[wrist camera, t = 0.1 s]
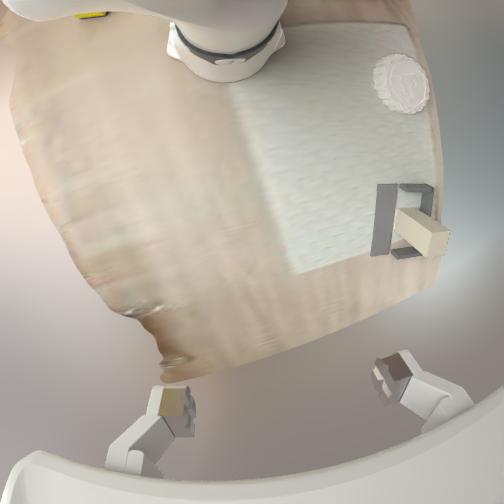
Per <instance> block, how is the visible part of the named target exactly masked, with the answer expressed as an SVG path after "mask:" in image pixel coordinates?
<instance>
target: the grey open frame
mask: <svg viewBox="0 0 504 504" xmlns="http://www.w3.org/2000/svg"><path fill="white" fill-rule="evenodd" d="M399 188H401V189H403V190H405V191H406V192H422V199H421V207H420V211H422V212H423V213H425V214H426V215H428V216H429V217H430V216H431V210H432V203H433V195H434V188H433V187H431V186H429V185H427V184H400V186H399ZM396 194H397V184H378V186H377V200H376V212H375V222H374V231H373V240H372V247H371V255H370V256H377V255H384V254H389V248H390V242H391V236H392V229H393V221H394V213H395V204H396ZM391 253H392V254H393V255H394V256H395V257H396V259H397V260H398V259H404V258H410V257H416V256H422V254H421V253H420V252H419V251H418V250H417V249H415V248H414V247H407V248H399V249H392V250H391Z"/></svg>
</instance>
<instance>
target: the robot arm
mask: <svg viewBox="0 0 504 504" xmlns="http://www.w3.org/2000/svg"><path fill="white" fill-rule="evenodd" d="M2 1H3V3H4V4H5V5H6V6H7V7H8V8H9V9H10V10H12V11H13V12H14V13H16V14H18V15H20V16H21V17H24V18H27V19H30V20H33V21H38V22H46V21H51V20H55V19H59V18H63V17H68V16H72V15H77V14H84V13H92V12H105V11H114V12H129V13H137V14H143V15H148V16H153V17H157V18H161V19H165V20H169V21H171V23H170V34H169V40H168V46H167V53H168V55H169V56H170V57H172V58H174V59H176V60H179V61H182V62H183V63H185V64H186V65H187V66H188V67H189V68H190V69H191V70H192V71H193V72H194V73H195V74H197V75H198V76H200V77H202V78H204V79H207V80H210V81H214V82H223V83H225V82H235V81H239V80H243V79H245V78H248V77H250V76H252V75H253V74H255V73H256V72H257V71H259V70H260V69H261V68H262V67H263V66H264V64H265V63H266V62H267V60H268V58H269V57H270V56H271V54H272V53H274V52H276V51H277V50H279V49H280V48H282V47H283V46H284V45H285V43H286V38H285V35H284V32H283V29H282V27H281V24H280V21H279V18H280V16H281V15H282V13H283V11H284V10H285V8H286V5H287V3H288V0H2ZM375 365H376V368H375V369H374V370H373V372H372V383H373V385H374V388H375V389H376V390H378V391H380V393H379V398H380V400H381V402H382V403H383V406H387V405H390V404H393V403H396V402H399V401H400V403H402V404H403V405H405V406H406V407H407V408H409V409H410V410H412V411H414V412H415V413H416V414H418V415H419V416H421V417H422V418H424V419H425V420H427V421H426V423H425V424H424V426H423V427H422V429H421V432H422V435H419V436H417V437H415V438H413V439H411V440H408V441H406V442H404V443H401V444H399V445H396V446H394V447H391V448H389V449H386V450H383V451H381V452H378V453H375V454H372V455H369V456H366V457H363V458H360V459H356V460H353V461H350V462H346V463H342V464H338V465H335V466H331V467H326V468H322V469H318V470H313V471H308V472H303V473H298V474H291V475H285V476H278V477H271V478H261V479H250V480H233V481H187V480H172V479H164V474H163V473H162V472H161V471H160V470H159V469H158V468H157V467H156V466H155V464H156V463H157V461H158V460H159V459H160V458H161V456H162V455H163V454H164V452H165V451H166V450H167V449H168V447H169V446H170V445H171V443H172V442H173V441H174V439H175V437H194V432H195V424H194V422H193V419H194V418H195V416H196V406H195V401H194V399H193V397H192V396H191V395H190V392H191V391H190V388H189V387H188V386H154V387H153V388H152V391H151V395H150V400H149V404H148V409H147V413H146V415H142V416H141V417H140V418H139V419H138V420H137V421H136V422H135V423H134V424H133V425H132V426H131V427H130V428H128V429H127V430H126V431H125V432H124V433H123V434H122V435H121V436H120V437H119V438H118V439H116V440H115V441H114V442H113V443H112V444H111V445H110V447H109V451H108V455H107V459H106V463H105V467H104V469H101V468H97V467H93V466H89V465H86V464H82V463H78V462H75V461H72V460H69V459H65V458H62V457H59V456H56V455H54V454H51V453H49V452H45V451H42V450H37V451H35V452H33V453H31V454H30V455H28V456H26V457H25V458H23V459H22V460H20V461H19V462H18V463H16V465H15V466H14V468H13V469H12V471H11V473H10V475H9V478H8V481H7V483H6V486H5V489H4V492H3V496H2V499H1V503H0V504H504V385H503V386H502V387H501V388H499V389H498V390H496V391H495V392H494V393H492V394H491V395H490V396H488V397H487V398H485V399H484V400H482V401H481V402H479V403H478V404H476V405H474V403H473V401H472V400H471V399H470V397H469V396H468V394H467V393H466V392H465V390H464V389H463V388H462V387H460V386H458V385H455V384H453V383H451V382H449V381H447V380H444V379H442V378H440V377H438V376H436V375H433V374H431V373H429V372H427V371H425V372H423V371H422V369H421V368H420V366H419V365H418V364H417V362H416V361H415V360H414V358H413V357H412V355H411V354H410V353H409V351H408V350H406V349H405V350H402V351H399V352H395V353H392V354H388V355H385V356H382V357H378V358H377V359H376V362H375Z"/></svg>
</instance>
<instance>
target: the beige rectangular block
mask: <svg viewBox="0 0 504 504" xmlns="http://www.w3.org/2000/svg"><path fill="white" fill-rule="evenodd" d="M395 231H396V232H397V233H398V234H399V235H400V236H402V237H403V238H404V239H405V240H406V241H407V242H409V243H410V244H411V245H412V246H413V247H414V248H415V249H417V250H418V251H419V252H420V253H421V254H422V255H423V256H424V257H426V258H431V257H437V256H442V255H445V251H446V248H447V244H448V239H449V235H450V230H448V229H447V228H445V227H444V226H443V225H441V224H440V223H438V222H437V221H435V220H434V219H432V218H431V217H429V216H428V215H426V214H425V213H423V212H422V211H420V210H418V209H417V208H399V209H397V217H396V225H395Z"/></svg>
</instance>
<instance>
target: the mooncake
mask: <svg viewBox="0 0 504 504" xmlns="http://www.w3.org/2000/svg"><path fill="white" fill-rule="evenodd" d="M373 73H374V75H373V77H372V79H373V82H374V83H375V84H374V89H375V91H377V92H378V93H377V95H378V97H379V99H381V100H382V101H383V104H384V105H385V106H387V107H389V108H390V110H392V111H397V112H398V113H401V114H416V113H417V111H418V112H420V111H422V109H423V107H425V106H426V105H427V101H428V100H429V94H428V93H429V92H430V87H429V86H428V84H429V80H428V78H427V77H426V73H425V71H424V70H423V69H421V66H420V64H419V63H417V62H415V60H414V59H413V58H412V57H408V56H407V55H405V54H398V53H395V54H391V55H388V56H384V57H382V58H381V60H380V61H377V62H376V67H375V68H374V69H373Z"/></svg>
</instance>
